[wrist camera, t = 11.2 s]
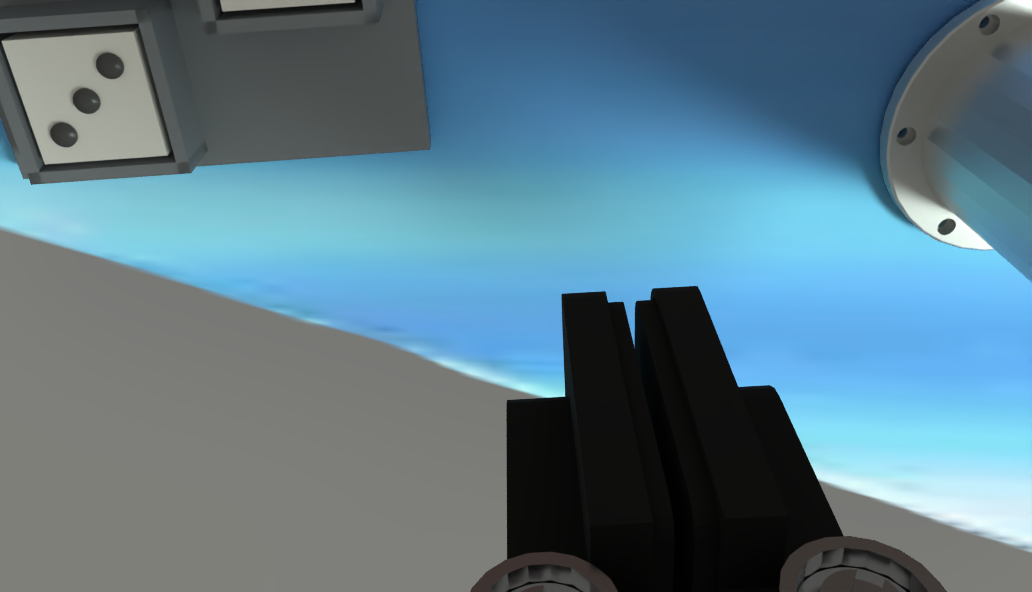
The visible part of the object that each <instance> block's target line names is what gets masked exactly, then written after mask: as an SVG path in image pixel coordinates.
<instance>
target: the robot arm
mask: <svg viewBox="0 0 1032 592" xmlns="http://www.w3.org/2000/svg"><path fill="white" fill-rule="evenodd" d="M982 19H984V20H983V22H982V23H981V20H982ZM980 23H981V24H980ZM902 129H903V130H902ZM901 130H902V132H901V133H899V132H900V131H901ZM898 133H899V134H898ZM880 164H881V169H882V174H883V178H884V183H885V185H886V187H887V189H888V191H889V193H890V196H891V198H892V200H893V202H894V203H895V204H896V205H897V207H898V208H899V209H900V210H901V212H902V213H903V214H904V215H905V216H906V218H908V219H909V220H910V221H911V222H912V223H913V224H914V225H915V226H916V227H918V228H919V229H920V230H921V231H922V232H924V233H925V234H927V235H929V236H930V237H932V238H933V239H935V240H937V241H939V242H943V243H946V244H949V245H952V246H955V247H959V248H965V249H974V250H996V251H997V252H998V253H999V254H1000V255H1001V256H1002V257H1003V258H1005V259H1006V260H1007V261H1008V262H1009V263H1010V264H1011V265H1013V266H1014V267H1015V268H1016V269H1017V270H1018V271H1019V272H1020V273H1022V274H1023V275H1024V276H1025V277H1026V278H1027V279H1028V280H1030V281H1031V282H1032V0H980V1H978V2H977V3H975V4H974V5H972V6H971V7H969V8H968V9H966V10H964V11H963V12H961V13H960V14H958V15H957V16H955V17H954V18H953V19H951V20H950V21H949V22H948V23H947V24H946V25H945V26H944V27H942V28H941V29H940V30H939V31H938V32H937V33H936V34H934V35H933V36H932V37H931V38H930V39H929V40H928V42H927V43H926V44H925V45H924V46H923V48H922V49H921V50H920V51H919V52H918V53H917V55H916V56H915V57H914V58H913V59H912V61H911V62H910V64H909V65H908V67H907V69H906V70H905V72H904V73H903V75H902V77H901V78H900V80H899V82H898V83H897V85H896V87H895V89H894V92H893V94H892V97H891V99H890V102H889V104H888V107H887V109H886V112H885V116H884V121H883V126H882V130H881V135H880ZM562 324H563V349H564V374H565V397H554V398H536V399H520V400H519V399H518V400H507V560H505V561H503V562H502V563H500V564H498V565H497V566H495V567H493V568H492V569H491V570H489V571H487V572H486V573H485V574H484V575H483V577H482V578H481V579H480V580H479V581H478V582H477V583H476V584H475V585H474V586H473V587H472V589H471V592H947V591H946V590H945V589H944V587H943V586H942V585H941V583H940V582H939V581H938V580H937V579H936V578H935V577H934V576H933V575H932V574H931V573H930V572H929V571H928V570H927V569H926V568H925V567H924V566H923V565H922V564H921V563H919V562H918V561H916V560H914V559H913V558H911V557H910V556H908V555H907V554H905V553H903V552H902V551H900V550H898V549H896V548H893V547H891V546H888V545H885V544H882V543H880V542H878V541H875V540H869V539H863V538H858V537H852V536H843V534H842V531H841V529H840V527H839V525H838V523H837V521H836V519H835V516H834V514H833V512H832V510H831V508H830V506H829V503H828V501H827V499H826V497H825V494H824V493H823V490H822V488H821V486H820V484H819V481H818V479H817V477H816V475H815V473H814V471H813V468H812V466H811V464H810V462H809V460H808V458H807V455H806V453H805V451H804V449H803V447H802V444H801V442H800V440H799V438H798V436H797V434H796V431H795V429H794V427H793V425H792V423H791V421H790V418H789V416H788V414H787V412H786V410H785V407H784V405H783V403H782V401H781V399H780V397H779V395H778V393H777V392H776V390H775V388H774V387H772V386H770V385H767V386H749V387H738V385H737V383H736V380H735V378H734V375H733V373H732V370H731V368H730V365H729V363H728V360H727V358H726V355H725V353H724V350H723V348H722V345H721V343H720V340H719V337H718V335H717V332H716V330H715V327H714V325H713V322H712V320H711V317H710V315H709V312H708V310H707V307H706V305H705V302H704V300H703V297H702V295H701V292H700V290H699V288H698V286H689V287H671V288H654V289H652V291H651V300H645V301H636V305H635V349H634V344H633V340H632V336H631V332H630V327H629V323H628V319H627V315H626V311H625V306H624V303H623V302H611V303H608V301H607V296H606V292H605V291H603V292H586V293H569V294H562Z"/></svg>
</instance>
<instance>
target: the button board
mask: <svg viewBox="0 0 1032 592" xmlns="http://www.w3.org/2000/svg"><path fill="white" fill-rule="evenodd" d="M125 24H139V28H140V31H141V35H142V39H143V42H144V46H145V50H146V53H147V57H148V61H149V64H150V68H151V72H152V75H153V79H154V83H155V86H156V90H157V94H158V98H159V101H160V105H161V109H162V112H163V116H164V120H165V123H166V127H167V131H168V134H169V138H170V142H171V145H172V151H171V152H170V153H169V154H168V155H167V156H155V157H141V158H127V159H113V160H99V161H85V162H71V163H57V164H45V163H44V161H43V158H42V155H41V152H40V149H39V146H38V144H37V141H36V138H35V135H34V132H33V129H32V127H31V124H30V121H29V118H28V115H27V112H26V110H25V107H24V104H23V101H22V98H21V95H20V93H19V90H18V87H17V84H16V81H15V78H14V76H13V73H12V70H11V67H10V64H9V61H8V59H7V56H6V53H5V50H4V47H3V44H2V42H1V41H2V40H4V39H6V38H8V37H10V36H11V35H13V34H15V33H17V32H25V31H39V30H54V29H68V28H82V27H96V26H111V25H125ZM0 117H1V120H2V122H3V125H4V128H5V131H6V133H7V136H8V139H9V141H10V144H11V147H12V149H13V152H14V155H15V158H16V160H17V163H18V166H19V168H20V171H21V174H22V177H23V179H28V178H29V180H30V183H31V185H32V184H46V183H60V182H73V181H87V180H101V179H115V178H129V177H143V176H157V175H171V174H185V173H192V171H193V170H194V169H195V167H196V166H209V165H223V164H236V163H250V162H264V161H278V160H292V159H306V158H320V157H334V156H348V155H362V154H376V153H390V152H404V151H417V150H430V144H431V136H430V127H429V119H428V110H427V101H426V92H425V83H424V74H423V65H422V57H421V48H420V39H419V30H418V21H417V12H416V3H415V0H356V1H355V2H353V3H339V4H324V5H310V6H296V7H281V8H267V9H253V10H239V11H224V12H223V11H222V7H221V2H220V0H0Z"/></svg>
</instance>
